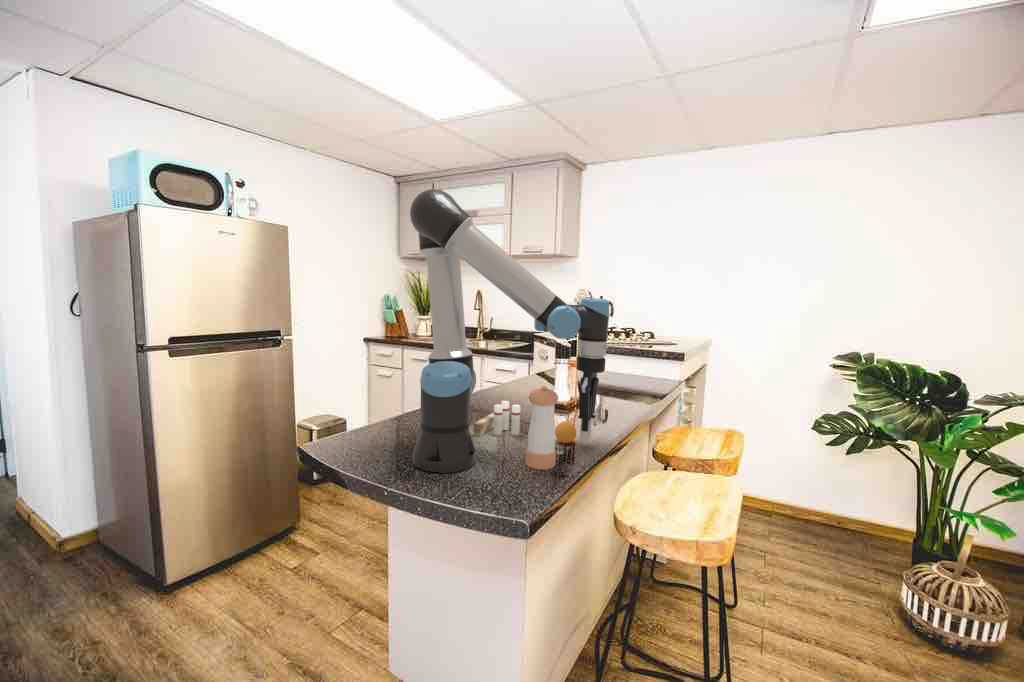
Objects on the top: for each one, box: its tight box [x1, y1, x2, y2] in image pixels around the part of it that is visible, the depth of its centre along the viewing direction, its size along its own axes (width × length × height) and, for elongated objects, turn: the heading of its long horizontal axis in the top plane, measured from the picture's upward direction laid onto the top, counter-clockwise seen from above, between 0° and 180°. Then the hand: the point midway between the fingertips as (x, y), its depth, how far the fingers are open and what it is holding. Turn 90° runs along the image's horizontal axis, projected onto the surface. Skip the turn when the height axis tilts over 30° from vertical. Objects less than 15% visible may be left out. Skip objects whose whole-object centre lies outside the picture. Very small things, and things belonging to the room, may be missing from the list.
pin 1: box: [492, 403, 503, 436], centre depth 128 cm, size 2×2×8 cm
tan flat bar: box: [472, 411, 494, 438], centre depth 133 cm, size 14×2×4 cm, turn 157°
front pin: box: [510, 404, 521, 436], centre depth 129 cm, size 2×2×8 cm
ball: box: [555, 420, 577, 444], centre depth 123 cm, size 6×6×6 cm
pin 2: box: [500, 400, 510, 431], centre depth 133 cm, size 2×2×8 cm
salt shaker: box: [525, 385, 559, 471], centre depth 107 cm, size 7×7×19 cm
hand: (584, 441), depth 121 cm, fingers closed
